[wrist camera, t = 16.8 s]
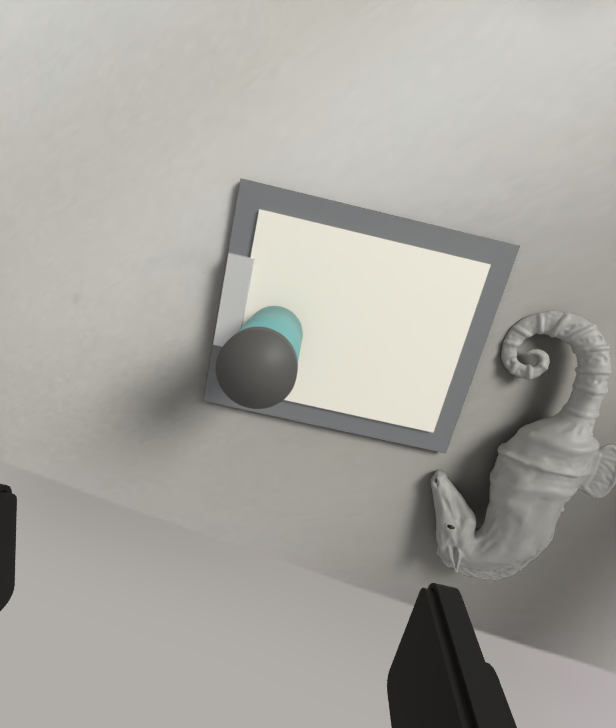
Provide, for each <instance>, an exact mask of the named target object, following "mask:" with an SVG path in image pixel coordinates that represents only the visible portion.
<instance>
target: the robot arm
mask: <svg viewBox="0 0 616 728" xmlns="http://www.w3.org/2000/svg"><path fill="white" fill-rule="evenodd" d="M16 510H17V497H16V496H15V494H12V491H11V488H10V486H7V485H3V484H0V611H1V610H2V609H3V608H4V606H5V605H6V604H7V603H8V601H9V600H10V598H11V596H12V593H13V591H14V586H15V549H16ZM387 692H388V701H389V709H390V717H391V726H392V728H517V727H516V724H515V721H514V719H513V716H512V714H511V711H510V708H509V705H508V703H507V700H506V697H505V695H504V692H503V689H502V687H501V684H500V681H499V679H498V676H497V674H496V672H495V670H494V668H493V667H492V666H491V665H490V664H489V663H486V662H485V660H484V657H483V655H482V652H481V649H480V646H479V643H478V641H477V638H476V635H475V632H474V629H473V627H472V624H471V621H470V618H469V616H468V613H467V610H466V607H465V604H464V602H463V599H462V596H461V594H460V592H459V590H458V589H457V588H453V587H449V586H444V585H440V584H436V583H431V584H430V585H429V587H428V589H426V588H422V589H421V590H420V592H419V595H418V598H417V600H416V603H415V605H414V608H413V611H412V613H411V616H410V618H409V621H408V624H407V626H406V629H405V632H404V634H403V637H402V639H401V642H400V644H399V647H398V650H397V652H396V655H395V658H394V660H393V663H392V665H391V668H390V670H389V674H388V680H387Z"/></svg>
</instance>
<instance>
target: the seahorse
mask: <svg viewBox="0 0 616 728" xmlns="http://www.w3.org/2000/svg"><path fill="white" fill-rule="evenodd" d="M534 334H547V335H549V336H550V337H556V338H559V339H561V340H562V341H564V342H566V343H568V344H569V345H570V346H571V347H572V351H573V353H575V354H576V356H577V362H578V367H576V368H575V371H576V373H577V374H576V378H575V381H574V383H573V390H572V393H571V396H570V399H569V400H568V402H567V403H566V404H565V405H564V406H563V408H562V410H561V411H560V412H559V413H558V414H556V415H555V416H552V417H549V418H545V419H541V420H538V421H535V422H533V423H531V424H527V425H524V426H523V427H521V428H520V429H519V430H518V431H517V433H516V434H515V435H514V436H513V437H512V438H511V439H510V440H509V441H507V442H506V443H501V445H499V448H498V454H499V455H498V457H497V460H496V463H495V466H494V468H493V470H492V471H491V473H490V482H491V484H490V495H489V498H490V503H489V505H488V507H487V511H486V516H485V521H484V523H483V525H482V526H481V527H479V528H478V529H475V527H476V516H475V514H474V513H473V511H472V509H471V508H470V507H469V506H468V505H467V503H466V501H465V499H464V498H463V496H462V495H461V494H460V493H459V492H458V490H457V489H456V488H455V487H454V485H453V484H452V483H451V482H450V480H449V479H448V478H447V475H446V474H445V473H444V472H443V471H441V470H437V471H436V472H435V474H434V475H433V476H432V477H431V487H432V492H433V500H434V506H435V512H436V539H437V542H438V547H437V550H436V552H437V555H438V557H439V558H441V559H442V561H443V563H444V564H445V565H446V566H448V567H449V568H452V567H453V568H454V571H455V572H456V573H458V572H459V573H461V574H463V575H465V576H470V577H475V578H481V579H484V580H489V579H491V580H494V581H496V580H499V579H503V578H507V577H509V576H512V575H515V574H516V573H517V572H518V571H521V570H522V569H523V568H524V567H526V566H527V564H528V563H529V562H531V561H532V560H534V559H536V558H537V557H538V556H539V554H540V553H541V552H543V551H544V550H545V549H546V547H547V546H548V545H549V543H550V542H551V541H552V539H553V536H554V531H555V527H556V523H557V521H558V519H559V517H560V515H561V512H564V510H565V509H564V507H563V506H564V504H566V503H567V502H568V501H569V500H570V498H572V496H573V495H574V494H575V493H576V492H577V491H578V489H580V490H582V491H584V492H585V493H587V494H588V495H590V496H591V497H592V498H594V499H598V498H603V497H605V496H606V495H607V494H608V493H609V492H610V491H611V489H612V488H613V487H614V486H615V484H616V446H615V445H612V444H609V445H605V446H603V447H602V448H600V449H599V442H598V441H597V439H596V438H594V436H593V428H594V425H595V421H596V418H598V417H599V409H600V406H601V404H602V401H603V399H604V396H605V394H607V393H608V388H607V384H608V380H609V376H610V375H611V373H612V371H611V369H610V368H611V362H610V355H609V350H610V346H609V345H607V344H606V342H605V339H604V337H603V336H602V334H601V333H600V332H599V331H598V329H597V326H596V325H595V324H593V323H590V322H588V321H587V320H585V319H583V318H582V317H580V316H577V315H574V314H570V313H568V312H556V311H547V312H542V313H538V314H534V315H531V316H528V317H526V318H524V319H522V320H520V321H519V322H517V323H516V324H515V325H514V326H512V328H511V329H510V330H509V332H508V333H507V335H506V337H505V339H504V341H503V345H502V352H501V359H502V361H503V363H504V365H505V367H506V369H508V370H509V372H510V373H511V374H514V375H515V376H517V377H521V378H526V379H527V380H531V379H534V378H536V377H538V376H540V375H541V374H542V373H543V372H544V371H546V370H548V366H549V363H550V360H549V355H548V354H547V353H546V352H544V351H543V350H540V349H531V350H529V351H527V353H526V355H530V354H533V355H537V356H538V357H539V359H540V361H539V362H538V363H537V365H536V366H534V367H532V366H531V365H524V364H522V363H520V362H519V361H518V360H517V348H518V347H519V346H520V345H521V344H522V342H523V341H524V340H525V339H526V338H529V337H531V336H533V335H534Z"/></svg>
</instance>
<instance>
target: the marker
mask: <svg viewBox="0 0 616 728" xmlns="http://www.w3.org/2000/svg"><path fill="white" fill-rule="evenodd" d="M302 337H303V331H302V326H301V323H300V321H299V319H298V318H297V317H296V315H295V314H294V313H293V312H291V311H290V310H288V309H286V308H284V307H280V306H268V307H265V308H262V309H260V310H259V311H257V312H256V313H255V314H254V315H253V316H252V317H251V318H250V319H249V320H248V321H247V323H246V324H245V325H244V326H243V327H242V328H241V329H240V330H239V331H238V332H237V333H236V334H234V335H233V336H232V337H231V338H230V339H229V340H228V341H227V342H226V343H225V344H224V345H223V347H222V348H221V350H220V352H219V354H218V357H217V360H216V376H217V380H218V383H219V385H220V387H221V389H222V390H223V392H224V393H225V394H226V395H227V396H228V397H229V398H230V399H231V400H232V401H234V402H235V403H237V404H239V405H241V406H243V407H247V408H252V409H265V408H269V407H272V406H275V405H277V404H278V403H280V402H281V401H283V400H284V399H285V398H286V397H287V396H288V395H289V394H290V392H291V391H292V389H293V387H294V385H295V382H296V377H297V371H298V360H299V354H300V349H301V343H302Z"/></svg>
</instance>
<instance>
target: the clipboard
mask: <svg viewBox="0 0 616 728" xmlns="http://www.w3.org/2000/svg"><path fill="white" fill-rule="evenodd" d="M519 247H520V246H518V245H513V244H509V243H505V242H501V241H497V240H493V239H489V238H485V237H480V236H476V235H472V234H468V233H464V232H460V231H456V230H452V229H447V228H443V227H439V226H435V225H431V224H427V223H423V222H419V221H414V220H410V219H406V218H402V217H398V216H394V215H390V214H386V213H381V212H377V211H373V210H369V209H365V208H361V207H357V206H353V205H348V204H344V203H340V202H336V201H332V200H328V199H324V198H320V197H315V196H311V195H307V194H303V193H299V192H295V191H291V190H287V189H282V188H278V187H274V186H270V185H266V184H262V183H258V182H254V181H249V180H245V179H240V185H239V191H238V197H237V203H236V209H235V215H234V221H233V227H232V233H231V239H230V244H229V250H228V256H227V262H226V268H225V274H224V280H223V286H222V292H221V298H220V304H219V310H218V316H217V322H216V328H215V334H214V340H213V345H212V351H211V357H210V363H209V369H208V375H207V381H206V387H205V393H204V399H203V401H206V402H211V403H216V404H220V405H225V406H230V407H234V408H239V409H243V410H248V411H253V412H257V413H262V414H266V415H271V416H276V417H280V418H285V419H289V420H294V421H299V422H303V423H308V424H313V425H317V426H322V427H326V428H331V429H336V430H340V431H345V432H349V433H354V434H359V435H363V436H368V437H372V438H377V439H382V440H386V441H391V442H396V443H400V444H405V445H409V446H414V447H419V448H423V449H428V450H432V451H437V452H442V453H446V451H447V449H448V446H449V443H450V440H451V437H452V435H453V432H454V429H455V426H456V423H457V421H458V418H459V415H460V412H461V409H462V407H463V404H464V401H465V398H466V395H467V393H468V390H469V387H470V384H471V381H472V379H473V376H474V373H475V370H476V367H477V365H478V362H479V359H480V356H481V353H482V351H483V348H484V345H485V342H486V339H487V337H488V334H489V331H490V328H491V325H492V323H493V320H494V317H495V314H496V311H497V309H498V306H499V303H500V300H501V297H502V294H503V292H504V289H505V286H506V283H507V280H508V278H509V275H510V272H511V269H512V266H513V264H514V261H515V258H516V255H517V252H518V250H519ZM268 306H280V307H284V308H286V309H288V310H290V311H291V312H293V313H294V314H295V315H296V317H297V318H298V319H299V321H300V323H301V326H302V331H303V337H302V343H301V349H300V354H299V360H298V371H297V377H296V382H295V385H294V387H293V389H292V391H291V392H290V394H289V395H288V396H287V397H286V398H285V399H284V400H283V401H281V402H280V403H278V404H277V405H275V406H272V407H269V408H265V409H252V408H247V407H243V406H241V405H239V404H237V403H235V402H234V401H232V400H231V399H230V398H229V397H228V396H227V395H226V394H225V393H224V392H223V390H222V389H221V387H220V385H219V383H218V380H217V376H216V360H217V357H218V354H219V352H220V350H221V348H222V347H223V345H224V344H225V343H226V342H227V341H228V340H229V339H230V338H231V337H232V336H233V335H234V334H236V333H237V332H238V331H239V330H240V329H241V328H242V327H243V326H244V325H245V324H246V323H247V321H248V320H249V319H250V318H251V317H252V316H253V315H254V314H255V313H256V312H257V311H259V310H260V309H262V308H265V307H268Z"/></svg>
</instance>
